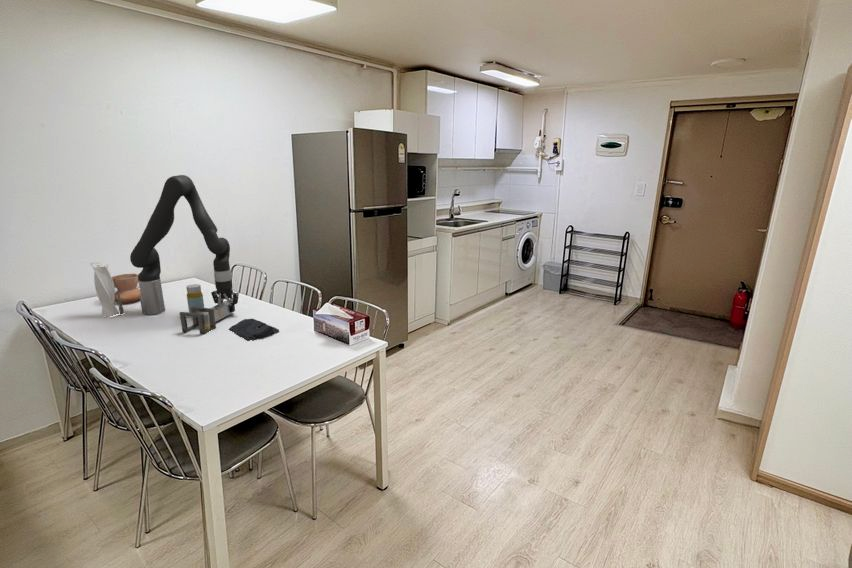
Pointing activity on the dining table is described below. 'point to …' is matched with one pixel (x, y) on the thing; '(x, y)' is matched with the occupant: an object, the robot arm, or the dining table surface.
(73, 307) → the dining table surface
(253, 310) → the dining table surface
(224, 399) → the dining table surface
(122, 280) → the ceramic jug
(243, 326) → the dark slate chunk
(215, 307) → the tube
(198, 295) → the bottle
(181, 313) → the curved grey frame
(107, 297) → the skyscraper
